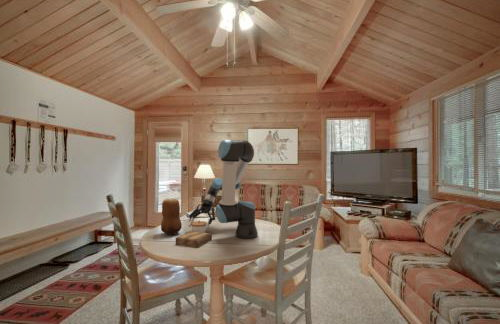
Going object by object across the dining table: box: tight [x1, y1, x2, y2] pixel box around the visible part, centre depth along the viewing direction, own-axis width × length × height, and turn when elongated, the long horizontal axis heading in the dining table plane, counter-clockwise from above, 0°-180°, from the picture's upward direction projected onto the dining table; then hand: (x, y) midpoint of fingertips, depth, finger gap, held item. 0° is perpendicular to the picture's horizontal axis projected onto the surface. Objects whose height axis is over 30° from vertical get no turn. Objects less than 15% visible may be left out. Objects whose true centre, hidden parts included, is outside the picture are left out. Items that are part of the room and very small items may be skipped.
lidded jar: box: [191, 220, 208, 233], centre depth 179 cm, size 11×11×9 cm
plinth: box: [175, 230, 213, 249], centre depth 162 cm, size 16×16×4 cm
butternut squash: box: [160, 198, 183, 236], centre depth 179 cm, size 14×13×25 cm
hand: (197, 227), depth 178 cm, fingers open, 13 cm apart
